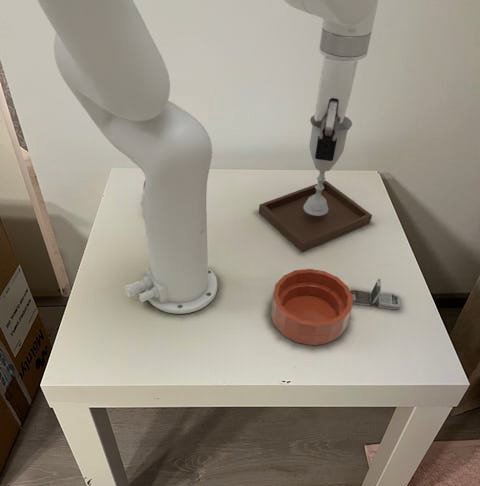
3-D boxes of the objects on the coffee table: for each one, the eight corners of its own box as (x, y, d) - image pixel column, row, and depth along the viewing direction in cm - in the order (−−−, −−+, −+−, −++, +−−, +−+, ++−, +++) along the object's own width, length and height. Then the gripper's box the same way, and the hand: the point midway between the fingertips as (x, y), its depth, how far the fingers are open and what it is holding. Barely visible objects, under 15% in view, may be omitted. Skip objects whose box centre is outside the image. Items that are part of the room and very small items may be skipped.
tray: (302, 252, 92) (303, 243, 91) (258, 213, 100) (259, 204, 99) (369, 223, 99) (372, 215, 98) (324, 188, 107) (325, 180, 106)
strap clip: (398, 298, 85) (404, 280, 82) (398, 310, 83) (406, 293, 80) (349, 291, 86) (354, 273, 83) (348, 303, 84) (354, 285, 81)
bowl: (302, 357, 76) (306, 337, 72) (256, 307, 83) (258, 286, 79) (362, 325, 80) (369, 305, 77) (314, 280, 87) (318, 259, 84)
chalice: (333, 200, 100) (351, 114, 87) (334, 219, 95) (353, 132, 82) (298, 197, 100) (310, 111, 87) (297, 216, 96) (310, 129, 82)
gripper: (325, 21, 81) (310, 124, 94) (314, 59, 70) (299, 171, 83) (370, 26, 80) (349, 129, 94) (367, 65, 69) (343, 177, 82)
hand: (325, 148), depth 88 cm, fingers closed on chalice, 6 cm apart
